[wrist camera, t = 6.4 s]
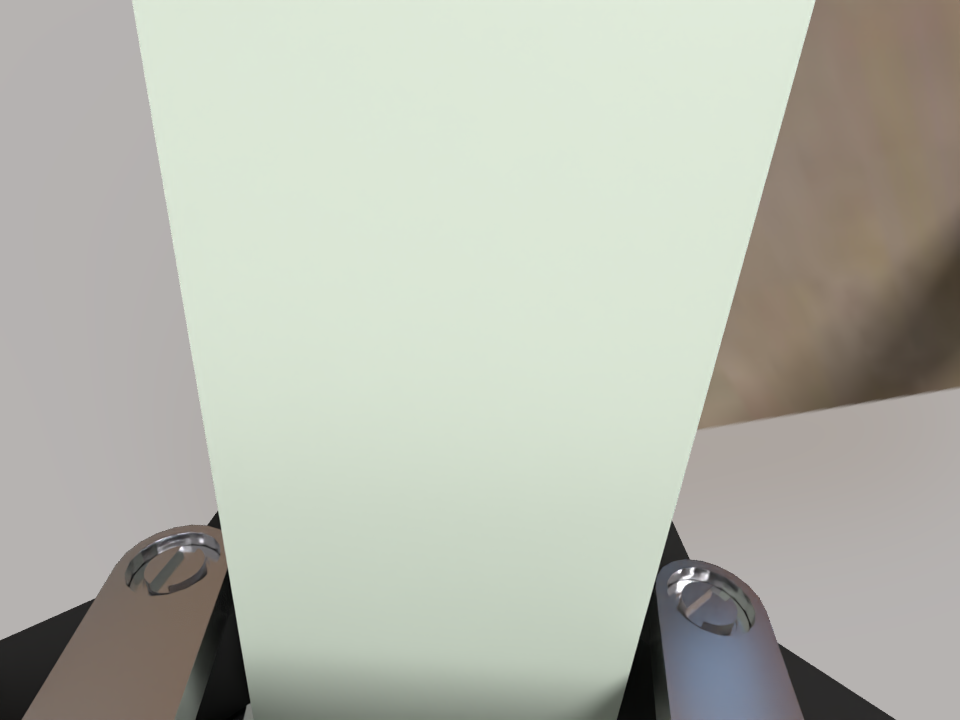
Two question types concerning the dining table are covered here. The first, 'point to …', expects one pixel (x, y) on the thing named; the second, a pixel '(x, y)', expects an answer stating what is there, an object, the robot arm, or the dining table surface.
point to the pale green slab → (456, 323)
